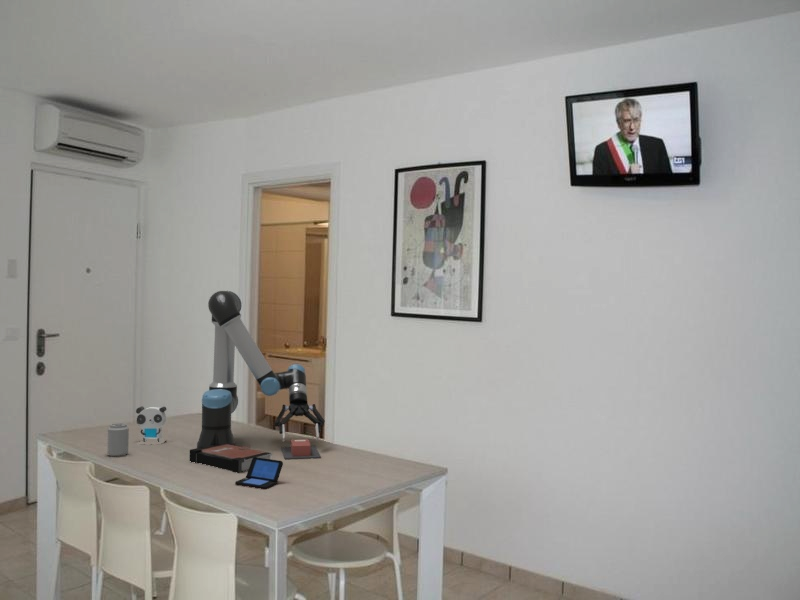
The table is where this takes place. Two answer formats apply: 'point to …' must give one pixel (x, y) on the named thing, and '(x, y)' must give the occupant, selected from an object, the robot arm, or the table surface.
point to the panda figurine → (151, 422)
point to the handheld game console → (262, 473)
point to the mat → (288, 455)
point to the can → (118, 439)
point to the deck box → (300, 447)
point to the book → (227, 457)
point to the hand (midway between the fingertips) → (300, 439)
